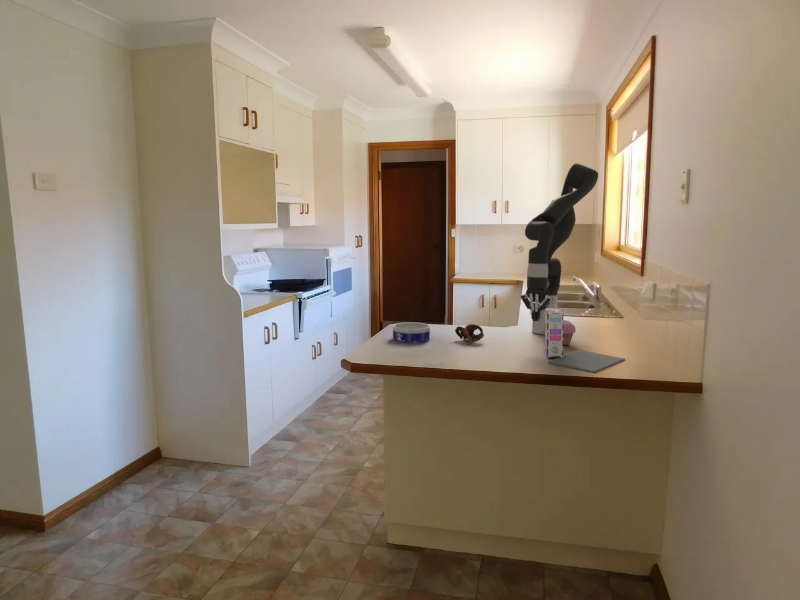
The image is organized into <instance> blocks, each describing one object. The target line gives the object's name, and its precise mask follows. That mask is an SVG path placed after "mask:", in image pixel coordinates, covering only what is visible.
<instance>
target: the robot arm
mask: <svg viewBox="0 0 800 600" xmlns="http://www.w3.org/2000/svg"><path fill="white" fill-rule="evenodd" d="M598 180H599V172H598V171H597V170H595V169H593V168H591V167H588V166H586V165H584V164H581V163H577V162H574V163H573V164H572V165H571V166H570V167H569V169H568V171H567V174H566V176H565V179H564V183H563V186H562V189H561V193H560V196H559V197H557V198H555V199H553V200H552V201H551V202H550V203H549V205H548V206H547V207H546V208H545V209H544V211H543V212H540V213H539V214H538V215H537V216H535V217H533V218H532V219H531V220H530V221H529V222H528V223H527V224H526V226H525V228H524V229H525V230H524V235H525V237H526V238H527V239H528V240H529V241H536V242H537V241H538V242H537V245H536V246H533V247H530V249H529V251H528V261H527V262H528V263H527V269H526V270H527V271H526V275H527V276H526V291H525V293H524V294H522V295H520V299H521V300H522V302H523V304H524V306H525V307H526V309H527V310H530V311H531V318H530V319H531V320H532V321H531V322H532V324H531V326H532V327H531V332H532V333H535V334H538V335H544V336H545V309H546V308H558V295H559V294H558V293H559V290H560V285H561V275H562V264H561V261H560V260H559V259H558V258H557V257H553V255H554V254H555V252H556V251H557V250H558V249H559V248H560V247H561V246H562V245H563V244H565V243H566V242H567V240H568V239H570V236H571V235H572V232H573V229H574V227H575V225H576V220H577V219H576V212H575V209H574V206H575V205H577V204H578V203H579V202H580V201H581V200H582V199H584V198H586V195H588V194H589V193H590V192H592V190H593V189H594V188H595V187H596V184H597V182H598ZM574 189H575V190H574Z"/></svg>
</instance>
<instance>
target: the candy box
mask: <svg viewBox="0 0 800 600" xmlns="http://www.w3.org/2000/svg"><path fill="white" fill-rule="evenodd" d="M563 320H564V312H563V311H562V309H561V308H558V307H557V308H546V309H545V335H544V338H545V339H544V342H545V344H544V345H545V346H544V347H545V348H544V349H545V351H544V352H545V354H546V357H547V358H555V359H556V358H563V356H564V345H563Z"/></svg>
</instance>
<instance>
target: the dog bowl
mask: <svg viewBox="0 0 800 600" xmlns="http://www.w3.org/2000/svg"><path fill="white" fill-rule="evenodd" d="M430 332H431V325H430V324H428V323H423V322H414V321H413V322H411V321H410V322H398V323H394V324H393V325H392V336H393V337H392V339H393V341H394V342H397V343H402V344H423V343H427V342H429V341H430V339H431V338H430V336H431V335H430Z"/></svg>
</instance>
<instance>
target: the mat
mask: <svg viewBox="0 0 800 600" xmlns="http://www.w3.org/2000/svg"><path fill="white" fill-rule="evenodd" d="M624 361H626V358H624V357H618V356H615V355H614V356H613V355H609V354H608V355H607V354H603V353H597V352H594V351H593V352H592V351H587V350H583V349H582V350H581V349H580V350H578V351H574V352H572V353H568V354H565V355H563V358H556V357H555V358H554V359H551V360H548V361H547V363H548V364H550V365H556V366H561V367H566V368H569V369H575V370H578V369H579V371H583V370H584V372H588V373H592V374H595V372H596V373H598V372H600V371H602V370H604V369H605V370H606V369H608V368H610V367H611V366H615V365H617V364H619V363H621V362H624Z"/></svg>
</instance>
